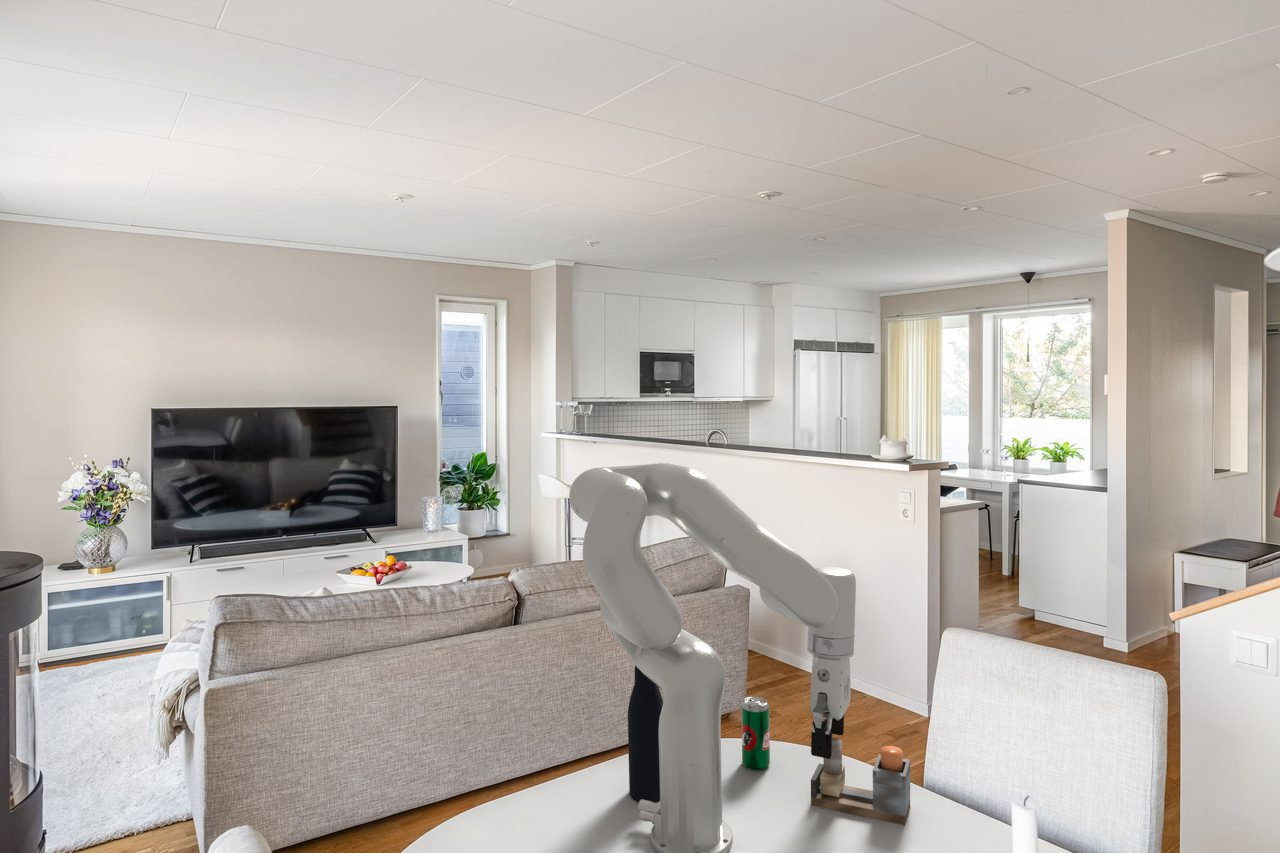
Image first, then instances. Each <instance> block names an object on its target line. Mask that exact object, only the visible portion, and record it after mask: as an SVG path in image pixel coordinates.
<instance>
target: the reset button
mask: <svg viewBox="0 0 1280 853" xmlns="http://www.w3.org/2000/svg"><path fill="white" fill-rule="evenodd" d="M880 755H881V767H882V768H883V769H885V770H889V771H900V770H902V769H903V759H904V751H903V750H902V749H901V748H900V747H898V746H894V745H885V746H882V747H881V748H880Z"/></svg>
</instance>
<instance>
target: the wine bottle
mask: <svg viewBox="0 0 1280 853" xmlns="http://www.w3.org/2000/svg"><path fill="white" fill-rule="evenodd" d="M663 701H664V698H663V695H662V693H661V689H660V688H659V687H658V686H657V685H656V684H655V683H653V682H652V681H651V680H650V679H649V678H648V677H646V676H645V675H644V674H643V673H642V672H641V670H640V669H639V668H638V667H637V666H636V665H634V685H633V688H632V691H631V693H630V697H629V703H628V707H627V736H628V738H627V744H628V787H629V789H628V790H629V796H630V798H631V799H632V800H634V801H636V802H638V803H639V802H640V800H641V799H643V800H647V801H651V802H654V803H658V802H660V772H659V718H660V713H661V710H662V706H663Z"/></svg>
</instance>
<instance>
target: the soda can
mask: <svg viewBox="0 0 1280 853" xmlns="http://www.w3.org/2000/svg"><path fill="white" fill-rule="evenodd" d="M770 724H771V723H770V706H769V704H768V700H767V699H766V698H764V697H759V696H748V697H746V698H744V699H743V702H742V705H741V761H742V762H741V764H743V765H744V766H745V768H747V769H748V768H749V770H752V771H762V770H765V769H767V767H769V765H771V747H770V746H771V738H770V736H771V735H770V732H771V731H770V730H771V729H770V728H771V727H770Z"/></svg>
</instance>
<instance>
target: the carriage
mask: <svg viewBox="0 0 1280 853" xmlns="http://www.w3.org/2000/svg"><path fill="white" fill-rule="evenodd" d="M823 764H824V770H823V772H822V774H821V776H820V779H821V794H826V795H831V796H836V797H839V796H840V793H841V791H842V789H843V786H844V785H845V784H846V765H843V741H842V740H841V739H839V738H836V737H832V756H831V758H830V759H827V758H823Z"/></svg>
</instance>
